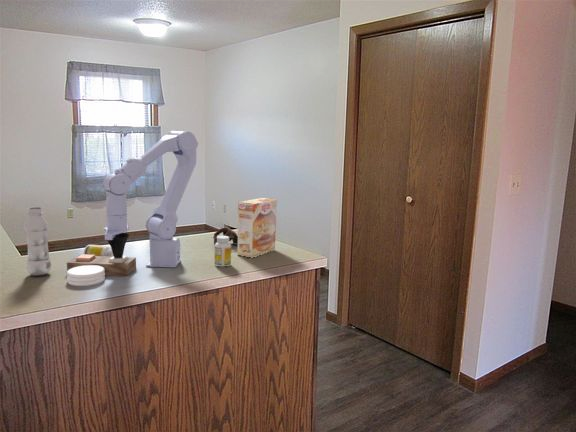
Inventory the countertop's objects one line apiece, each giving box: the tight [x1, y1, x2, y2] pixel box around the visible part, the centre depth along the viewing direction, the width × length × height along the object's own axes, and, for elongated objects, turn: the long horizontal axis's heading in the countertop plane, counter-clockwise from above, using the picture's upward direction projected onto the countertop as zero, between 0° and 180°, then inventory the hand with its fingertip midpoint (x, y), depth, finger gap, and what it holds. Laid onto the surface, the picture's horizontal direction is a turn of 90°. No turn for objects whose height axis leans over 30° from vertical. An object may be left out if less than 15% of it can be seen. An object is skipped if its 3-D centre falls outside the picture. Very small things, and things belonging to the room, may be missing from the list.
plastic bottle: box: [23, 206, 52, 276], centre depth 135 cm, size 6×7×20 cm
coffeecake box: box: [237, 197, 278, 259], centre depth 167 cm, size 15×7×20 cm, turn 148°
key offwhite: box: [109, 255, 128, 263], centre depth 142 cm, size 4×4×3 cm
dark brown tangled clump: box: [212, 226, 238, 246], centre depth 178 cm, size 12×10×8 cm
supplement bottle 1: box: [83, 244, 113, 257], centre depth 151 cm, size 5×5×10 cm
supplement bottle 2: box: [213, 235, 232, 267], centre depth 152 cm, size 5×5×10 cm
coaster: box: [66, 265, 106, 287], centre depth 133 cm, size 10×10×4 cm
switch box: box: [66, 255, 137, 277], centre depth 142 cm, size 18×8×4 cm, turn 90°
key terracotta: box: [75, 253, 95, 262], centre depth 142 cm, size 4×4×3 cm
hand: (118, 257), depth 141 cm, fingers closed, pressing on key offwhite
